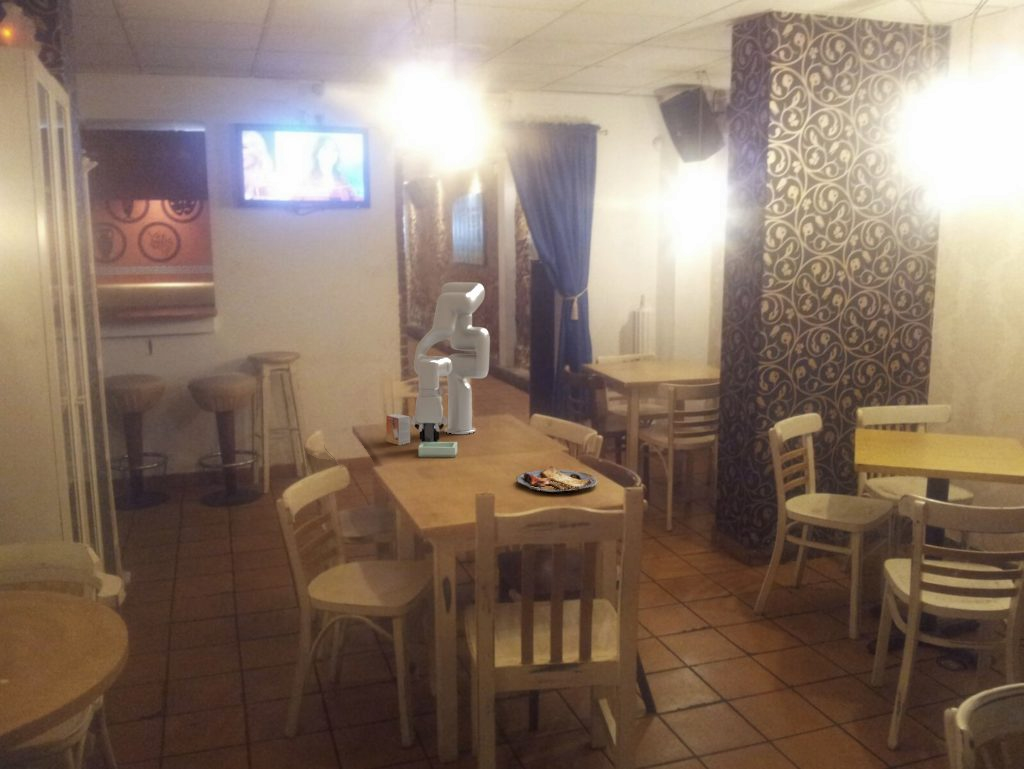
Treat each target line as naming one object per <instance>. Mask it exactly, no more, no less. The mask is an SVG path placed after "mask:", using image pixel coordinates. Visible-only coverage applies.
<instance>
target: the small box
mask: <svg viewBox="0 0 1024 769" xmlns="http://www.w3.org/2000/svg"><path fill="white" fill-rule="evenodd" d="M385 417H386V419H385V420H386V422H385V424H386V426H385V427H386V428H385V429H386V433H385V434H386V437H385V438H386V442H387V443H390V444H393V445H396V444H397V446H401V445H402V444H403V445H407V444H406V443H409V444H410V443H411V423H410V421H411V416H409V415H404V414H401V413H400V414H399V413H393V414H388V415H386V416H385Z"/></svg>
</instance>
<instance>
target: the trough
mask: <svg viewBox="0 0 1024 769" xmlns="http://www.w3.org/2000/svg"><path fill="white" fill-rule="evenodd" d="M457 453H458V441H437V442H421V441H420V444H419V445H418V458H456V456H457Z"/></svg>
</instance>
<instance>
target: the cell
mask: <svg viewBox="0 0 1024 769" xmlns="http://www.w3.org/2000/svg"><path fill="white" fill-rule="evenodd" d="M435 431H436V427H435V424H433V423H425V424H423V436H424V442H435Z"/></svg>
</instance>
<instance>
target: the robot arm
mask: <svg viewBox="0 0 1024 769" xmlns="http://www.w3.org/2000/svg"><path fill="white" fill-rule="evenodd" d="M485 292H486V290H485V287H484V286H483V284H482V283H480V282H470V281H469V282H463V281H452V282H446V283H444V284H443V285H442V286H441V294H439V296H438V298H437V301H436V305H435V310H434V311H435V312H434V316H433V320H432V326H431V329H430V330H429V331H428V332H427V333H426V334H425V335H424V336H422V338H421V339H420V341H419V343H418V344H417V346H416V349H415V354H414V358H413V359H414V360H413V369H414V372H415V374H417V376H418V395H417V396H416V401H415V412H414V415H413V417H412V418H410V425H412V426H413V427H415V429H417V431H418V432H419V440H420V443H421V442H424V436H423V424H425V423H433V424H435V427H436V431H435V442H439V440H440V431H441V430H442V429H443V428H444V427H445V428H444V433H446V432H447V433H446V434H449V433H451V434H450V435H468V434H469V433H470V434H473V432H474V433H475V432H476V430H477V429H476V427H475V426H473V417H472V415H473V414H472V412H473V411H472V410H473V409H472V407H473V405H472V404H473V403H472V398H473V397H472V394H473V392H472V390H473V389H472V386H471V384H470V382H469V381H468V379H484V378H486V377H487V376H488V374H489V370H490V353H491V350H490V349H491V348H490V347H491V338H490V333H489V331H488V329H487V328H485V327H482V326H481V327H480V326H473V313H475V312H476V311H477V309H478V308H479V307H480V306H481V305H482V303H483V301H484V299H485V296H486V293H485ZM448 338H449V340H450V341H449V342H450V343H449V344H450V347H451V349H453V350H457V351H466V352H467V351H469V352H470V351H471V352H475V353H476V354H474V353H473V354H471V353H451V354H450V355H448V356H438V355H427V353H428V351H429V350H430V348H432V346H434V345H435V344H437V343H441V341H444V340H446V339H448ZM440 377H442V378H443V377H446V380H447V409H448V410H447V416H445V413H444V405H443V397H442V395H440V394H444V389H441V388H440ZM446 425H447V427H446Z"/></svg>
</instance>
